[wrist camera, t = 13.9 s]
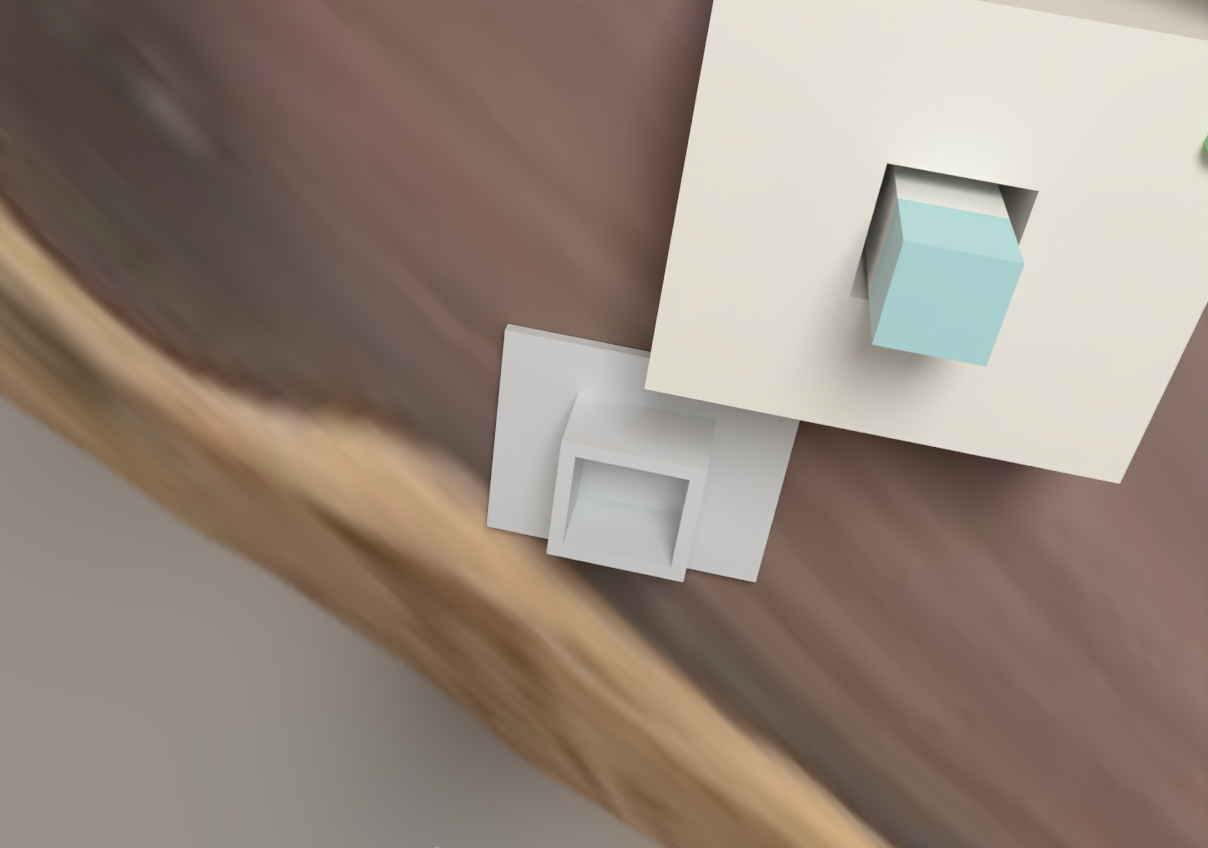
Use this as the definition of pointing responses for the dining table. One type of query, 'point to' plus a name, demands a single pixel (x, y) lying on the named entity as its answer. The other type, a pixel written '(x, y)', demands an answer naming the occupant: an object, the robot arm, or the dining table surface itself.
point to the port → (961, 148)
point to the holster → (629, 463)
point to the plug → (940, 264)
